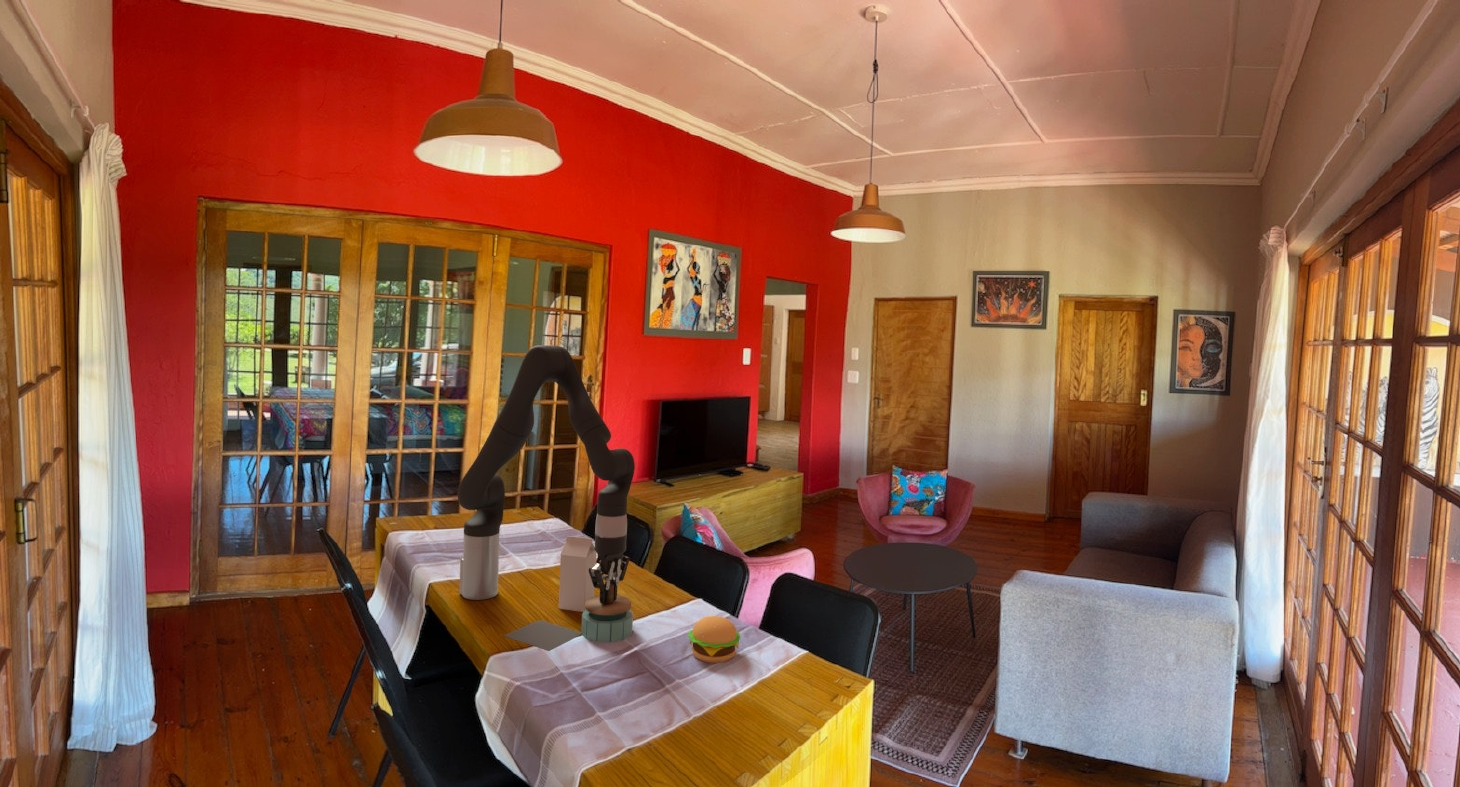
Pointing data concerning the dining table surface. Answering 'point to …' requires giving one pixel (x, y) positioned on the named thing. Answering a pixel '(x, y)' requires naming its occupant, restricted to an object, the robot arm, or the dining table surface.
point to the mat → (543, 635)
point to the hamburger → (714, 639)
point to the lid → (612, 608)
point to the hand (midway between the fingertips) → (608, 601)
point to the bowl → (606, 626)
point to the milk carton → (576, 573)
